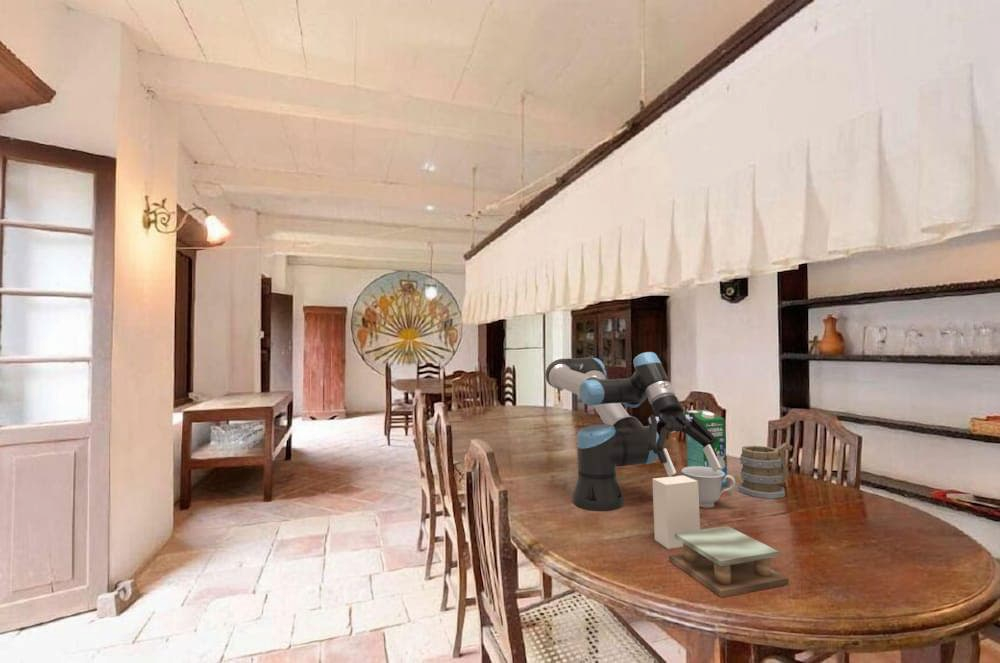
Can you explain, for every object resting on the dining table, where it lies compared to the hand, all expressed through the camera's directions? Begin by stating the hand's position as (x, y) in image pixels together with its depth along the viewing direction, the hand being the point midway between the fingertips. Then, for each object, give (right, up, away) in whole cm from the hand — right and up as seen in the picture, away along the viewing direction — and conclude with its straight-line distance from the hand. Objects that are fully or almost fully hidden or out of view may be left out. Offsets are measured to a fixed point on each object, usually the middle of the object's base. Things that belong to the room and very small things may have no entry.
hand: (695, 472), depth 117 cm
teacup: (+12, -16, +19) cm, 28 cm away
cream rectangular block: (-7, -15, -6) cm, 18 cm away
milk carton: (+22, -17, +41) cm, 50 cm away
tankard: (+38, -16, +31) cm, 52 cm away
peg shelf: (-3, -14, -21) cm, 26 cm away
